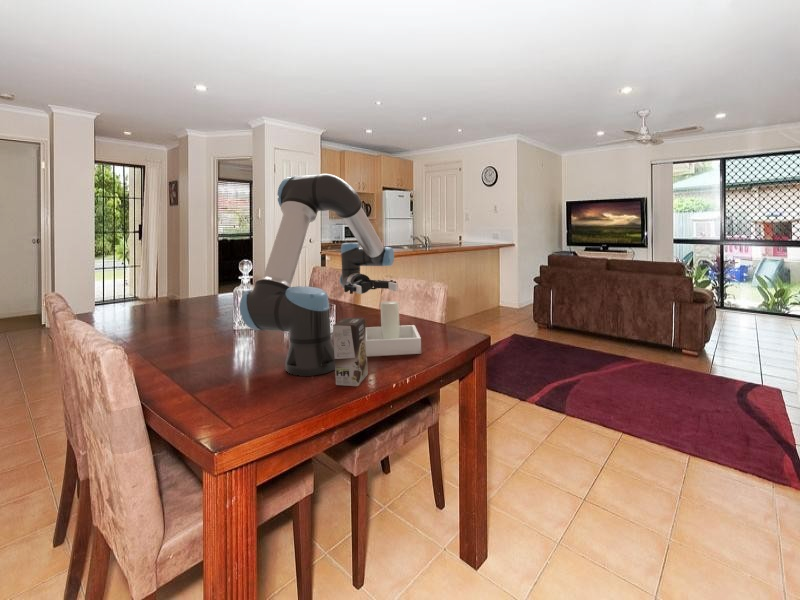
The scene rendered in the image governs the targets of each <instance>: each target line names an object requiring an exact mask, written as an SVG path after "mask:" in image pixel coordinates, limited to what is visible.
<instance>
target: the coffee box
mask: <svg viewBox="0 0 800 600" xmlns="http://www.w3.org/2000/svg"><path fill="white" fill-rule="evenodd" d="M365 327H366V317H343V318H342V319H339V321H337V322H336V323H334V324H333V325H332V336H333V338H332V339H333V347H334V358H335V370H334V374H335V375H334V376H335V377H334V378H335V386H346V387H347V386H349V387H358V386H360V385H361V383H362V382H363V381H364V380H365V378H366V377H367V376H368V356H367V350H366V328H365Z"/></svg>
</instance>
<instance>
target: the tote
mask: <svg viewBox="0 0 800 600" xmlns="http://www.w3.org/2000/svg"><path fill="white" fill-rule="evenodd" d="M365 328H366V350H367V357H381V356H400V355H401V356H402V355H416V354H417V355H419V354H422V337H421V335H420V333H419V332H418V329H417V327H416V325H415V324H411V325H409V324H408V325H406V324H405V325H399V328H400V338H398V339H382V330H381V326H369V327H368V326H367V327H366V326H365Z"/></svg>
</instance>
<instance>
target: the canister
mask: <svg viewBox="0 0 800 600" xmlns="http://www.w3.org/2000/svg"><path fill="white" fill-rule="evenodd" d="M380 323H381V324H380V325H381V326H380V327H381V330H382V339H398V338H400V328H399V326H400V302H399V301H393V300H388V301H381V302H380Z"/></svg>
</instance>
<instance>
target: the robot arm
mask: <svg viewBox="0 0 800 600" xmlns="http://www.w3.org/2000/svg"><path fill="white" fill-rule="evenodd" d="M277 197H278V198H277V203H278V205H279V207H280V211H281V212H282V214H283V215H282V218H281V221H280V224H279V227H278V230H277V234H276V235H275V239H274V242H273V246H272V249H271V252H270V255H269V258H268V260H267V264H266V267H265V270H264V273H263V276H262V278H261V277H260V278H258V279H256V281H255V284H254V286H253V289H250V290H247V291H246V292H244V293H243V294H242V296H241V297H240V300H239V301H240V302H239V314H240V315H241V319H242V321H243V322H244V324H245V325H246V327H248V328H250V329H252V330H259V331H262V332H265V331H272V332H273V331H274V332H287V333H288V335H289V346H288V350H287V355H286V359H285V363H284V365H285V372H286V371H287V372H288V374H289V373H290V374H289V375H292V374H293V375H292V376H297V375H299V377H311V376H318V375H324V374H327V373H330V372H333V371H335V358H334V343H333V342H332V337H331V333H332V332H331V318H330V317H331V316H330V307H331V306H330V303H329V302H330V301H329V295H328V293H327V292H326V290H323V289H321V288H319V287H314V286H307V285H305V286H303V285H302V286H301V285H300V286H299V285H298V286H296V285H295V286H292V283H293V279H294V277H295V273H296V270H297V266H298V263H299V259H300V255H301V252H302V249H303V246H304V243H305V239H306V235H307V232H308V229H309V226H310V224H311V223H313V222H314V221H316V218H317V215H318V212H324V211H325V212H326V211H330V212H334V213H335V214H336V216H337V217H339V218H340V219H343V221H344V222H345V224H346V225H347V227H348V228H349V230H350V231H351V233H352V235H353V236H354V237H355V239H356V240H357V242H344V243H341V247H340V252H341V253H340V257H341V258H340V259H341V274H340V275H339V284H340V286H341V287H343V290H344V292H345V293H348V292H349V294H350V295H353V294H354V293H355V294H358V295H362V294H366V293H368V292H369V291H371V290H377V289H385V290H387V289H388V290H389V291H392V292H393V291H394V292H398V291H399V286H398V285H399V284H398V283H397V281H394V280H393V279H391V280H381V279H378V280H376V279H371V278H370V277H369V276H368V275H367V274H364V273H361V267H391V266H392V265H393V264H394V261H395V251H394V249H393V248H392V247H390V246H389V247H388V246H384V244H383V242H382V240H381V238H380V237H379V236H378V234H377V231H376V230H375V228H374V227H373V225H372V222H371V221H370V220H369V218H368V216H367V214H366V212H365V211H364V209H363V201H362V198H361V197H360V196H359V194H358V193H357V191H356V190H355V189H354V188H353V186H351V185H350V184H349V183H348V182H346V181H345V180H344V179H342V178H340V177H339V176H336V175H334V174H330V173H321V174H306V175H292V176H288V177H286V178H284V179H283V180H282V181H281V182H280V184H279V185H278V189H277Z"/></svg>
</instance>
